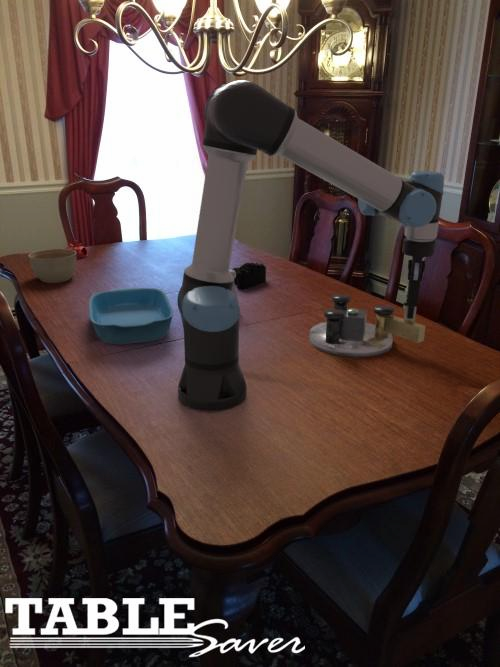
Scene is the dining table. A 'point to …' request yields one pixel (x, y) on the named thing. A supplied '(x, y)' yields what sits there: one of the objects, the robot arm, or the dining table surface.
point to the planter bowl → (53, 264)
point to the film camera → (249, 275)
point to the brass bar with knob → (396, 325)
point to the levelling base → (351, 343)
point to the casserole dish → (130, 315)
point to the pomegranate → (78, 250)
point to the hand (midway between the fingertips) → (408, 328)
